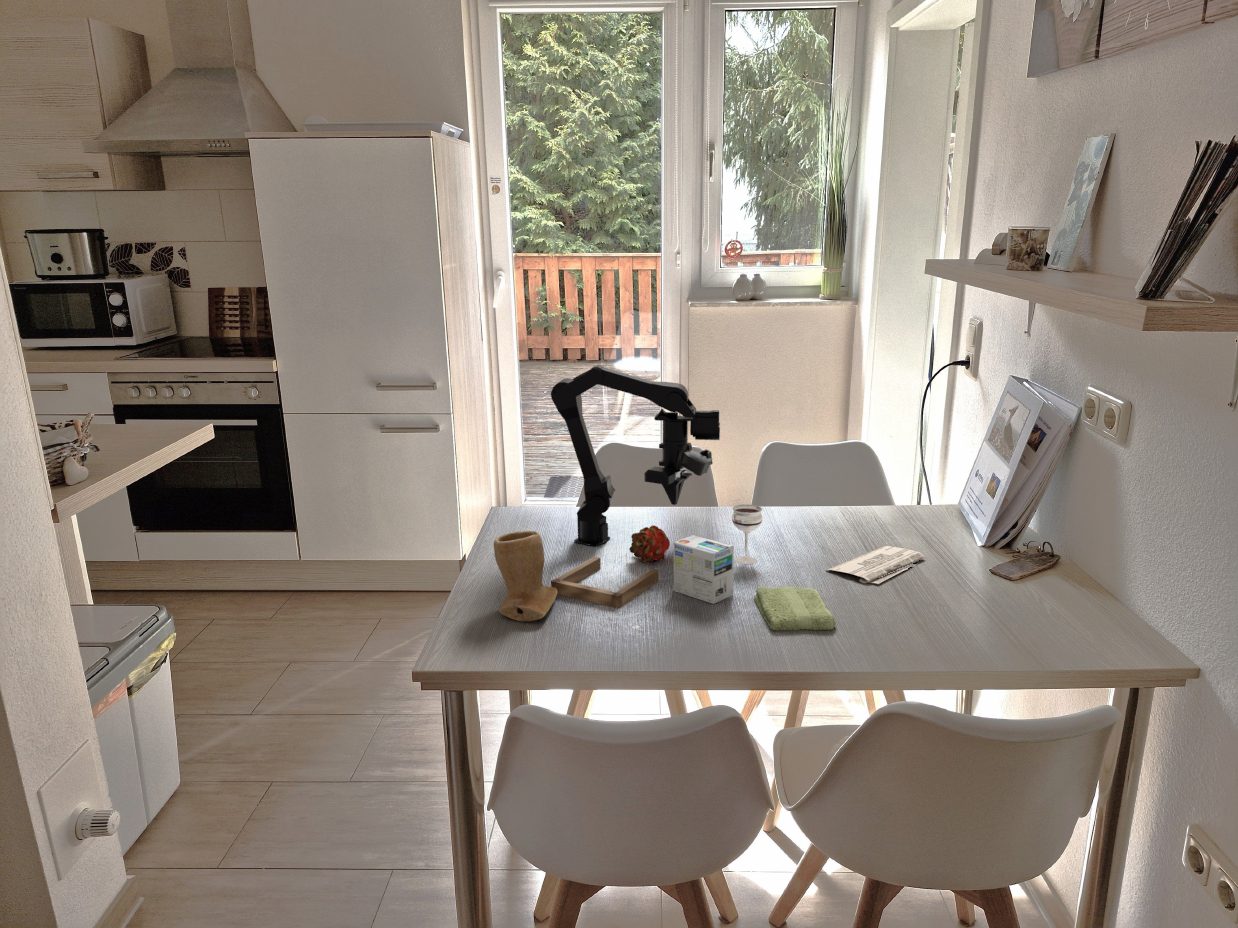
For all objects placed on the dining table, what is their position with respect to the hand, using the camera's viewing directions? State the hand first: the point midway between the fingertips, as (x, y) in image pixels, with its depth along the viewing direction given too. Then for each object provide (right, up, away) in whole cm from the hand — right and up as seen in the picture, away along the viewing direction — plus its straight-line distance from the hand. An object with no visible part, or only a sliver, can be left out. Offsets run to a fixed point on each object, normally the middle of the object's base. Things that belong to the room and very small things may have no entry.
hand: (674, 504), depth 205 cm
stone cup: (-31, -19, -33) cm, 50 cm away
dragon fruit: (-6, -12, -7) cm, 16 cm away
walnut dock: (-15, -16, -22) cm, 31 cm away
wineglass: (+15, -12, -9) cm, 22 cm away
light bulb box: (+4, -17, -27) cm, 32 cm away
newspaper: (+44, -14, -13) cm, 48 cm away
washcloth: (+20, -20, -37) cm, 46 cm away
